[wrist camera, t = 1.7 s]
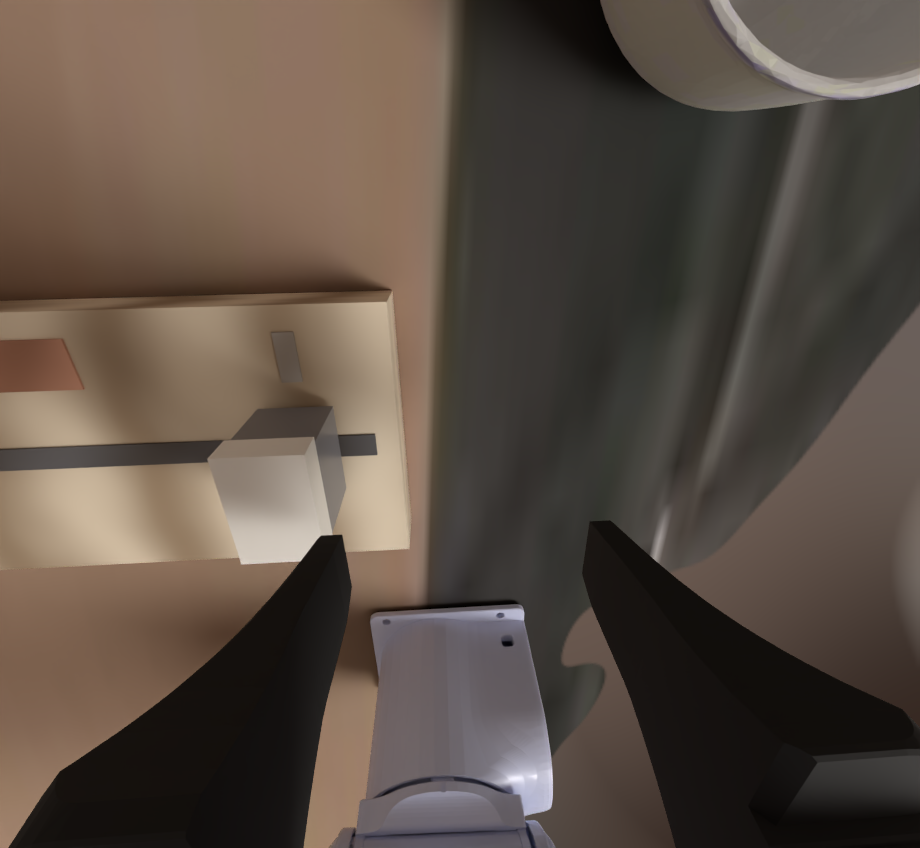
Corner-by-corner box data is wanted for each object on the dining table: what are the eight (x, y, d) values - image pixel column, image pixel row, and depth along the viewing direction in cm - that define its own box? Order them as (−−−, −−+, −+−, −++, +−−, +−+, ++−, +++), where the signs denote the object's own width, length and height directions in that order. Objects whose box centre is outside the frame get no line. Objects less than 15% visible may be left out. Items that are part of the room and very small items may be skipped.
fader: (332, 401, 17) (304, 454, 14) (346, 491, 19) (326, 560, 16) (256, 404, 17) (207, 458, 13) (278, 494, 19) (241, 564, 15)
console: (392, 290, 18) (386, 302, 16) (411, 516, 24) (409, 550, 21) (-107, 303, 17) (-190, 318, 15) (31, 535, 23) (-15, 572, 20)
